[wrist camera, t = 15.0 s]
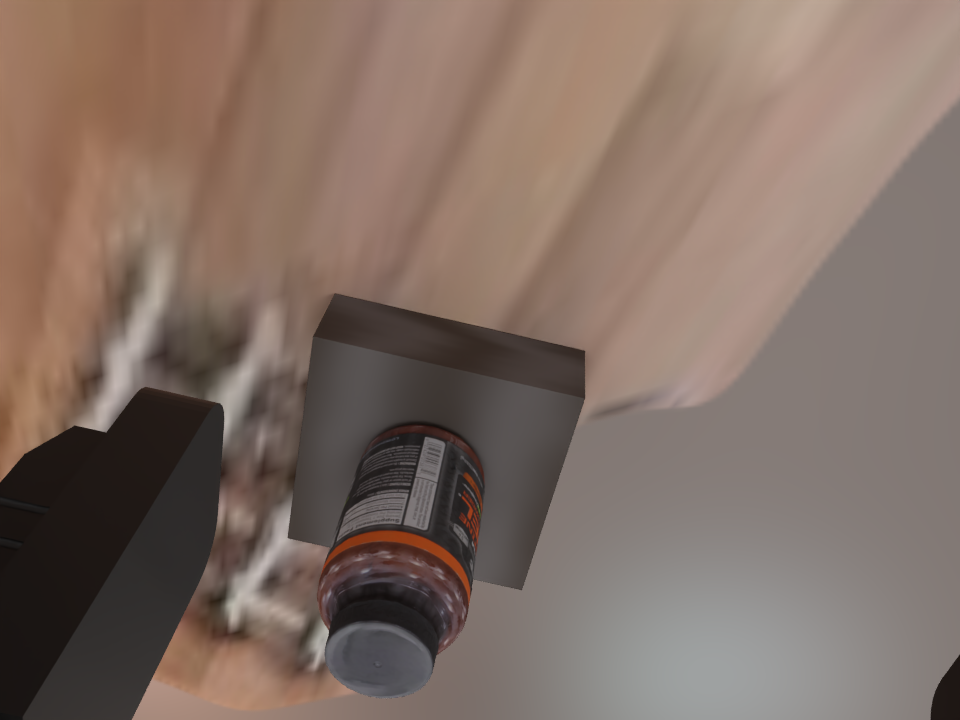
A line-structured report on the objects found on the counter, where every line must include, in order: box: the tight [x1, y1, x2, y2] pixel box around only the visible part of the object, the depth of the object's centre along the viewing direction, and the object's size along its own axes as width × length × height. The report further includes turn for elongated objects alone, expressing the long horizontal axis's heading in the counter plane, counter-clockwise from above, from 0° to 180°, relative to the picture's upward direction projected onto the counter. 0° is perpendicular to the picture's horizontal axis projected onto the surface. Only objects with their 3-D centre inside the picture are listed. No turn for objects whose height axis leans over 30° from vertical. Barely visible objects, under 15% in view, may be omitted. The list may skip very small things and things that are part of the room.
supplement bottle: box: [317, 424, 485, 698], centre depth 38 cm, size 6×6×11 cm
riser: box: [288, 294, 585, 590], centre depth 44 cm, size 12×12×4 cm
